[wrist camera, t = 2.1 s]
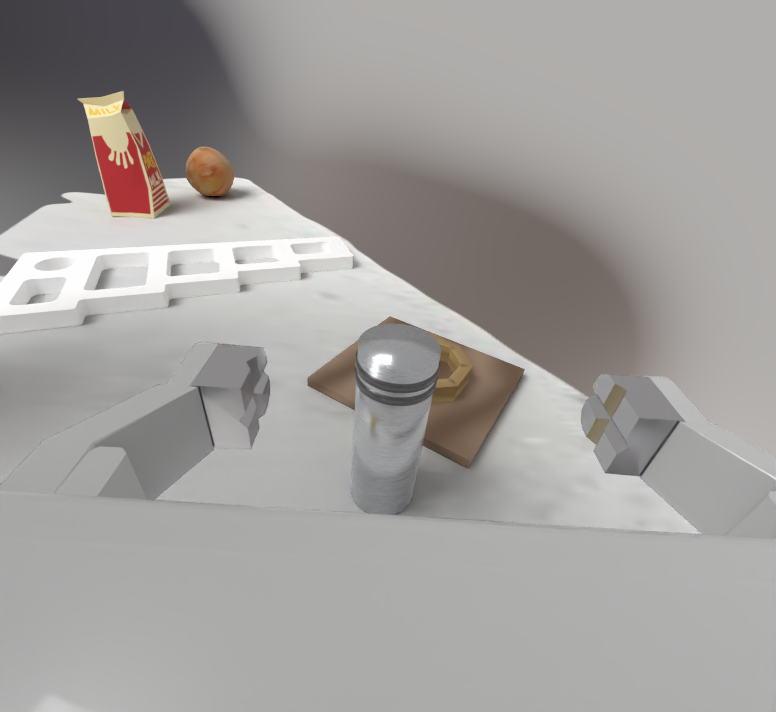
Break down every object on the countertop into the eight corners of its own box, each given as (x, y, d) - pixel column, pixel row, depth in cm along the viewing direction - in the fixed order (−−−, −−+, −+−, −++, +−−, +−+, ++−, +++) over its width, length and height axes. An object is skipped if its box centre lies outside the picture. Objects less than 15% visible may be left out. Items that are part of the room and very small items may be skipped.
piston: (336, 495, 31) (338, 349, 23) (373, 452, 35) (386, 314, 27) (392, 530, 29) (416, 385, 21) (425, 482, 33) (456, 342, 25)
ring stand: (307, 385, 42) (306, 362, 40) (389, 322, 53) (391, 302, 51) (468, 468, 35) (475, 445, 33) (522, 376, 46) (529, 355, 44)
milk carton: (170, 204, 84) (144, 90, 72) (156, 218, 76) (125, 94, 65) (122, 202, 82) (88, 85, 71) (103, 216, 75) (61, 88, 63)
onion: (245, 198, 92) (239, 150, 86) (202, 204, 86) (193, 152, 80) (224, 188, 97) (217, 141, 91) (182, 193, 91) (172, 144, 85)
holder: (338, 251, 73) (338, 236, 71) (372, 297, 60) (373, 280, 58) (32, 271, 57) (23, 253, 56) (-15, 339, 44) (-27, 318, 42)
